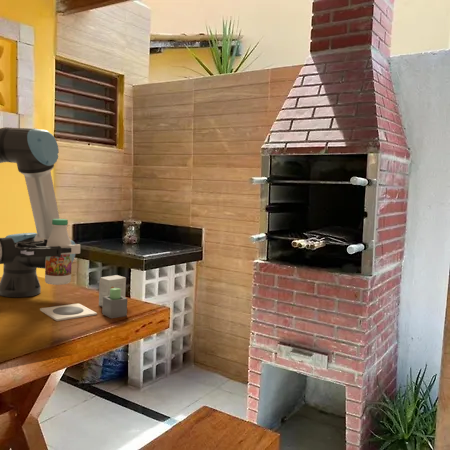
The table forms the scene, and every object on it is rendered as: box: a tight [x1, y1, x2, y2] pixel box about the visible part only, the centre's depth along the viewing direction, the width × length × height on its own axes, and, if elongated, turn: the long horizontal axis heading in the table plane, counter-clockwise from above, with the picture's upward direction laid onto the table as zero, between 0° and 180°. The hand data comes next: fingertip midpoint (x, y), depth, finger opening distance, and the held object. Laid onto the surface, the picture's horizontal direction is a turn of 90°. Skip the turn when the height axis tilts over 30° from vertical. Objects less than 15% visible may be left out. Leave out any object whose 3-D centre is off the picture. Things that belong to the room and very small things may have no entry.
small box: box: [98, 274, 127, 308], centre depth 169 cm, size 8×6×10 cm
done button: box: [110, 288, 121, 300], centre depth 158 cm, size 4×4×5 cm
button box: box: [101, 296, 128, 319], centre depth 158 cm, size 6×6×6 cm
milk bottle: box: [44, 218, 73, 286], centre depth 144 cm, size 8×8×20 cm
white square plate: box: [39, 302, 98, 322], centre depth 157 cm, size 14×14×1 cm
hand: (73, 246), depth 147 cm, fingers closed on milk bottle, 8 cm apart
